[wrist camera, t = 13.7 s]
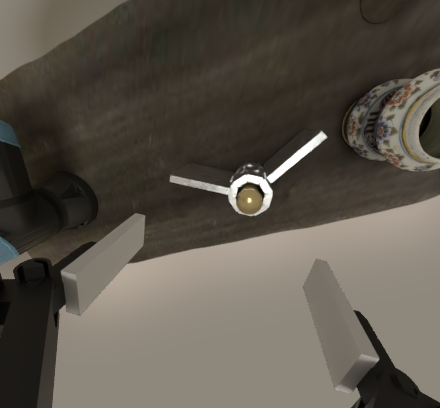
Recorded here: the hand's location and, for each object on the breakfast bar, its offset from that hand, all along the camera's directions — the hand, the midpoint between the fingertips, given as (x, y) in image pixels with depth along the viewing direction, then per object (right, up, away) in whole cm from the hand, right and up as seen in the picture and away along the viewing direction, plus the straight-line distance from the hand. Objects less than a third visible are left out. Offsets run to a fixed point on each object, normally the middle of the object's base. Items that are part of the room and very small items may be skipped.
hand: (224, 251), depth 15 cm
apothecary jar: (+28, +19, +22) cm, 40 cm away
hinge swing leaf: (+10, +12, +27) cm, 32 cm away
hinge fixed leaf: (+1, +10, +30) cm, 32 cm away
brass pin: (+6, +9, +29) cm, 32 cm away
